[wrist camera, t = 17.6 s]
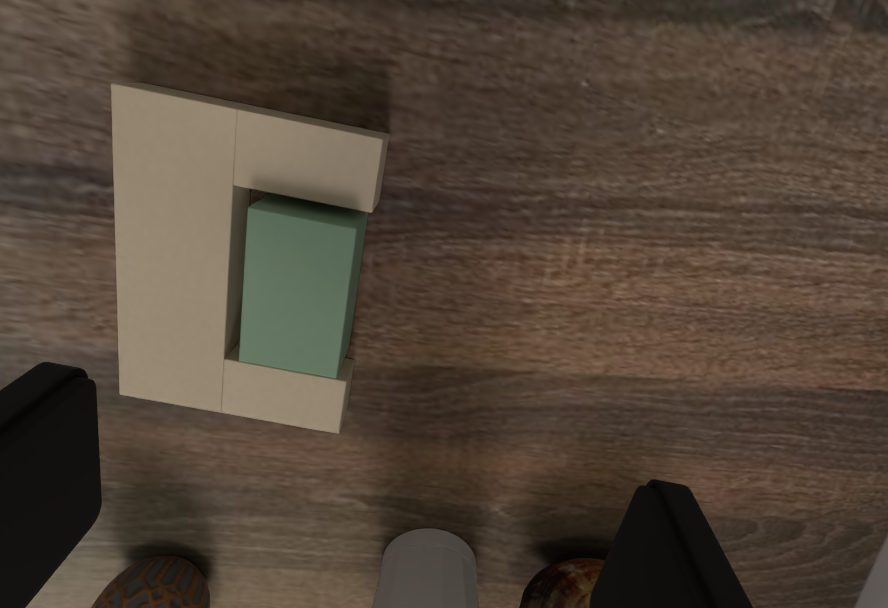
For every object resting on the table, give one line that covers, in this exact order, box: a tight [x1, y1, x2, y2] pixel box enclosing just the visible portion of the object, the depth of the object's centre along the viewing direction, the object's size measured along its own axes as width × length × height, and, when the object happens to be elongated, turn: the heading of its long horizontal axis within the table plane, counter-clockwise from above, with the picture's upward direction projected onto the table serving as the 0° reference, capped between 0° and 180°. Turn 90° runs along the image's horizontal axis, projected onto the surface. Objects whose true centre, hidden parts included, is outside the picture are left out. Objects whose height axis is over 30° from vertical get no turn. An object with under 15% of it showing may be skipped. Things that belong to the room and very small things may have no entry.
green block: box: [239, 193, 368, 378], centre depth 28 cm, size 8×5×4 cm, turn 169°
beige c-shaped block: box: [111, 83, 389, 433], centre depth 29 cm, size 16×12×2 cm
